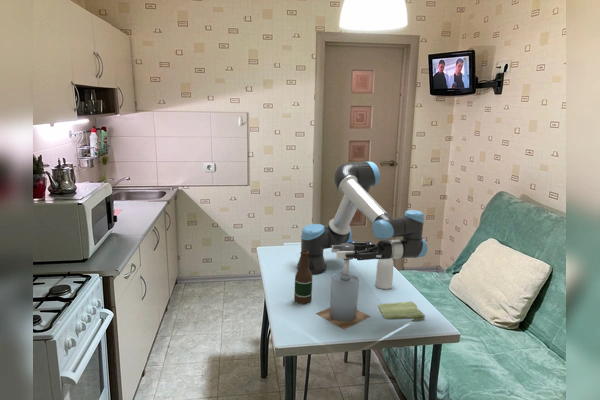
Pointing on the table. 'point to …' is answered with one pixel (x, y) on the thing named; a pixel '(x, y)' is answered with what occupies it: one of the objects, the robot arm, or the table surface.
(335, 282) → the soap dispenser
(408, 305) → the washcloth
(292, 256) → the table surface
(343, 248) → the pump plunger
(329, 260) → the table surface
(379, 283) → the milk bottle
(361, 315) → the walnut board
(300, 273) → the beer bottle
